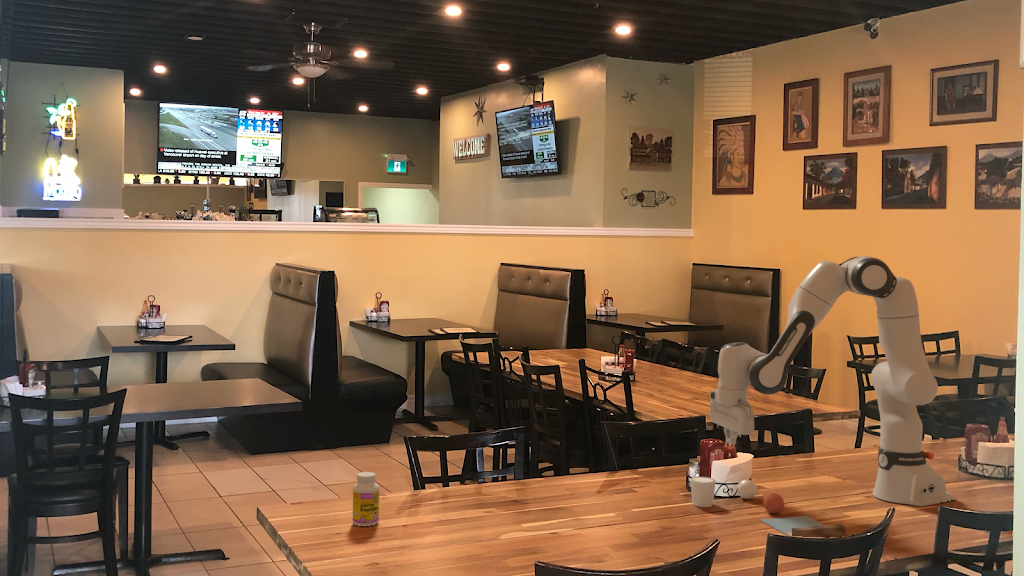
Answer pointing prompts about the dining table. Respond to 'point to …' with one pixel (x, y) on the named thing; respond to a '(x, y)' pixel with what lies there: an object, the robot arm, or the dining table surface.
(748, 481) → the cue ball
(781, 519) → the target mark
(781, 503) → the red ball
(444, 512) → the dining table surface
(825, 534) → the strip
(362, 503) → the supplement bottle
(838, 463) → the dining table surface
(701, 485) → the white cup
